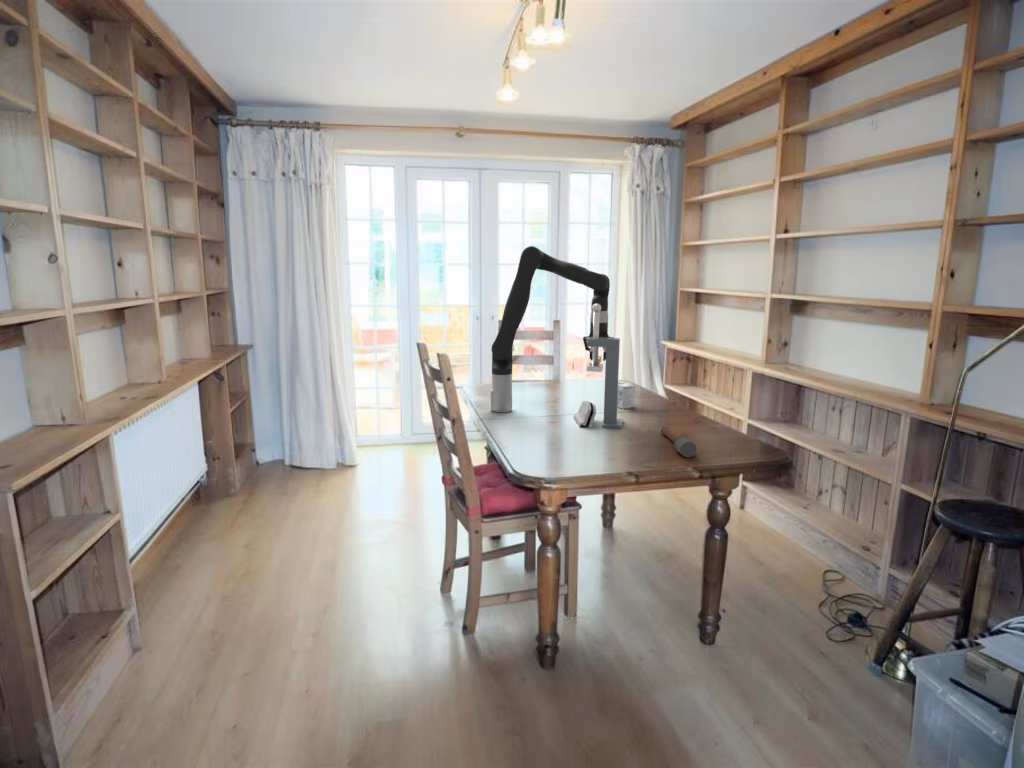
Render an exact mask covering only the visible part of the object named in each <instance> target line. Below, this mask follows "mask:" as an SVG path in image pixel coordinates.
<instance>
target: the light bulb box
mask: <svg viewBox="0 0 1024 768" xmlns="http://www.w3.org/2000/svg"><path fill="white" fill-rule="evenodd" d="M635 386H636V385H634V384H631V383H628V382H624V381H618V399H617V408H619V409H621V408H622V410H624V408H626V409H632V408H631V407H633V408H634V407H635V406H634V405H635Z"/></svg>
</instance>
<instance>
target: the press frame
mask: <svg viewBox="0 0 1024 768" xmlns="http://www.w3.org/2000/svg"><path fill="white" fill-rule="evenodd" d="M620 340H621V339H620V337H614V338H602V337H599V339H593V337H589V338H588V341H587V347H589V348H591V347H599V348H603V347H606V360H605V369H604V370H605V372H604V374H605V375H604V376H605V378H604V399H603V400H604V403H603V420H602V423H601V428H602V429H614V428H615V429H617V430H622V428H623V425H624V419H623V418H617V417H618V407H617V399H618V382H619V374H620V373H619V368H620V366H619V364H620V347H621V346H620V344H621V342H620ZM615 429H614V430H615Z"/></svg>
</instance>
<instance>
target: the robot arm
mask: <svg viewBox="0 0 1024 768" xmlns="http://www.w3.org/2000/svg"><path fill="white" fill-rule="evenodd" d="M536 270H540V271H546V272H549V273H552V274H555V275H557V276H559V277H562V278H564V279H566V280H569V281H570V282H575V283H577V284H579V285H583V286H584V287H587V288H589V289H591V290H592V291H593V295H592V299H591V309H590V310H591V311H590V319H589V321H590V325H589V326H590V327H589V334H588V335H587V336H583V337H582V340H583V344H584V348H585V351H588V352H589V360H590V361H592V353H593V347H587V342H588V339H589V337H593V318H594V311H593V309H592V307H593V305H594V304H596V303H597V304H600V305H601V310H600V317H599V337H602V338H615V337H614V336H609V334H608V333H609V294H610V288H611V287H610V282H611V281H610V278H609V277H608V275H606V274H604V273H598V272H595V271H592V270H589V269H588V268H585V267H584V266H581V265H578V264H576V263H573V262H572V263H571V262H569V261H565V260H561V259H558V258H555V257H553V256H551V255H549V254H547V253H546V252H544V251H542V250H541V248H539V247H537V246H534V245H532V246H531V245H529V246H526V247H525V248H524V249H523V250H522V252H521V254H520V258H519V263H518V267H517V270H516V271H517V272H516V273H515V274H516V275H515V278H514V280H513V283H512V285H511V289H510V291H509V294H508V296H507V299H506V302H505V306H504V310H503V313H502V319H501V323H500V328H499V330H498V333H497V335H496V337H495V339H494V341H493V342H492V346H491V349H490V350H491V390H490V412H494V411H495V412H496V413H509V411H510V412H512V411H513V346H514V340H515V338H516V334H517V331H518V329H519V327H520V325H521V322H522V321H523V318H524V317H525V314H526V310H527V309H528V305H529V301H530V298H531V289H532V288H531V287H532V281H533V277H534V275H535V272H536ZM602 350H603V355H602V357H603V358H602V361H603V362H606V347H602Z"/></svg>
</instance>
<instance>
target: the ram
mask: <svg viewBox="0 0 1024 768" xmlns="http://www.w3.org/2000/svg"><path fill="white" fill-rule="evenodd" d="M592 309H593V311H594V318H593V339H599V317H600V310H601V305H600V304H597V303H596V304H594V305H593V307H592ZM599 348H600V347H593V353H592V360H591V362H589V363H588V364H587V365H586V372H597V373H602V372H603V369H604V363H602V357H603V355H599Z"/></svg>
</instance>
